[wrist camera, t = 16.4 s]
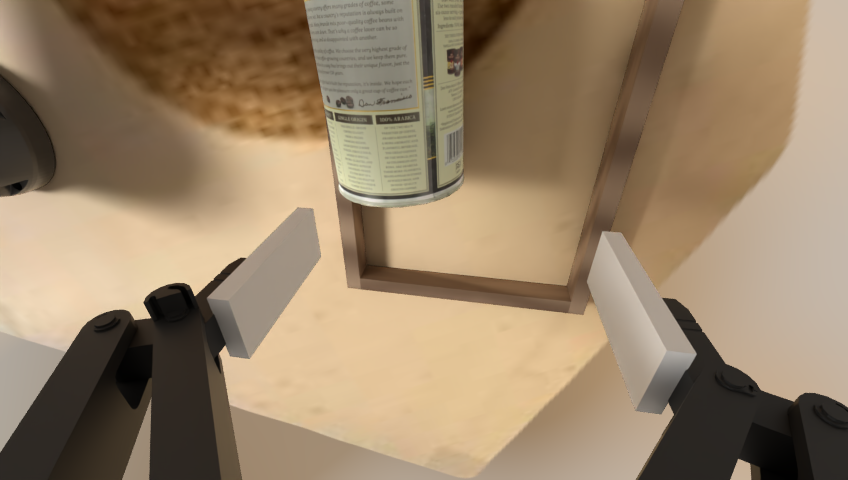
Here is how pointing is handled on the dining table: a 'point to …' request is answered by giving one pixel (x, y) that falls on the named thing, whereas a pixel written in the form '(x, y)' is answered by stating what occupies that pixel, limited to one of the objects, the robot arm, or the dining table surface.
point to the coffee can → (392, 96)
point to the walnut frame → (605, 199)
